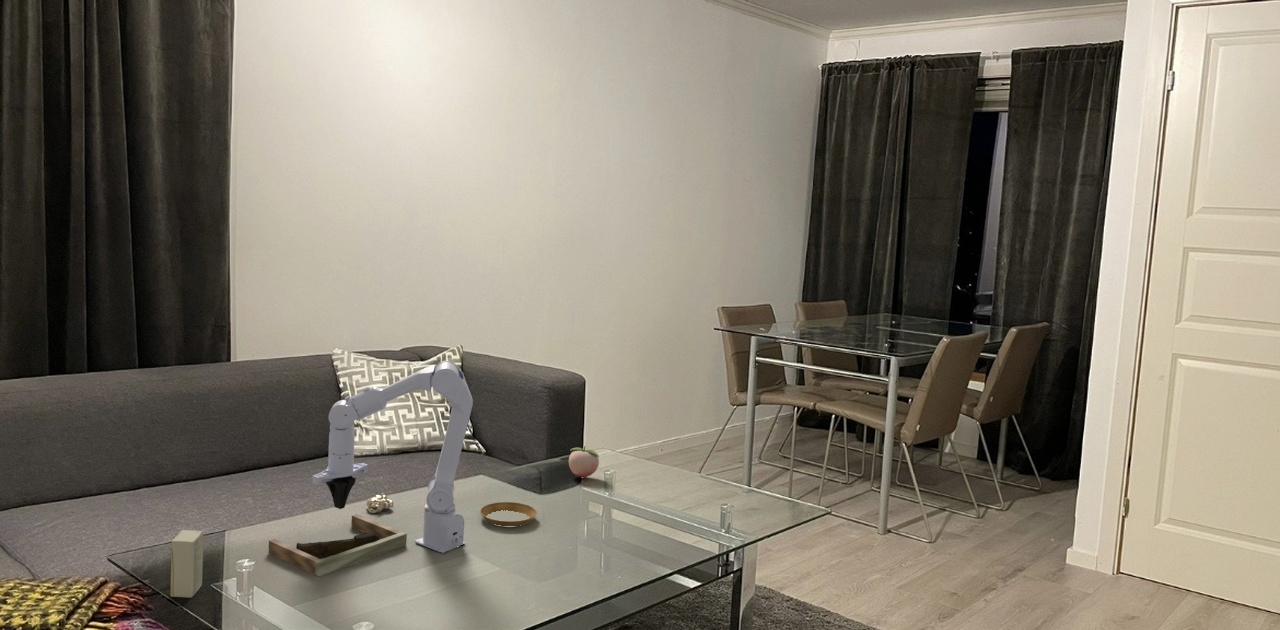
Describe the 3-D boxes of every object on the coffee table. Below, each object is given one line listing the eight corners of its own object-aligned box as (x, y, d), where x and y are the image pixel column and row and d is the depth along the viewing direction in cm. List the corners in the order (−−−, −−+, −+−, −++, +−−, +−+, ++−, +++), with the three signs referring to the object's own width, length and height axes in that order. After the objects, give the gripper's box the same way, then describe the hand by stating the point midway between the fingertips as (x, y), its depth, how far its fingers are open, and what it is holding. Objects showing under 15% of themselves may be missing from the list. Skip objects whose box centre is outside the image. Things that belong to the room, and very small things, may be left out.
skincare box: (181, 584, 206) (182, 528, 204) (203, 585, 206) (204, 530, 205) (169, 597, 200) (170, 540, 198) (192, 598, 200) (193, 541, 198)
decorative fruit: (563, 480, 294) (565, 448, 292) (570, 472, 302) (572, 440, 300) (594, 484, 292) (596, 452, 291) (600, 476, 300) (602, 444, 299)
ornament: (389, 516, 254) (389, 502, 254) (362, 513, 254) (363, 500, 254) (397, 505, 262) (397, 492, 262) (371, 503, 262) (372, 490, 262)
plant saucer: (468, 523, 254) (468, 513, 254) (498, 507, 268) (499, 497, 267) (518, 535, 249) (518, 525, 248) (546, 518, 262) (546, 508, 262)
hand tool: (296, 563, 221) (297, 544, 221) (295, 556, 225) (295, 537, 224) (382, 556, 229) (383, 537, 228) (379, 550, 233) (380, 531, 232)
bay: (406, 545, 236) (406, 533, 235) (319, 576, 215) (319, 563, 215) (356, 525, 246) (356, 514, 245) (268, 553, 225) (268, 540, 225)
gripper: (354, 442, 240) (352, 496, 242) (304, 454, 228) (302, 510, 230) (374, 448, 236) (372, 503, 238) (324, 461, 224) (322, 518, 226)
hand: (339, 507), depth 234 cm, fingers closed
